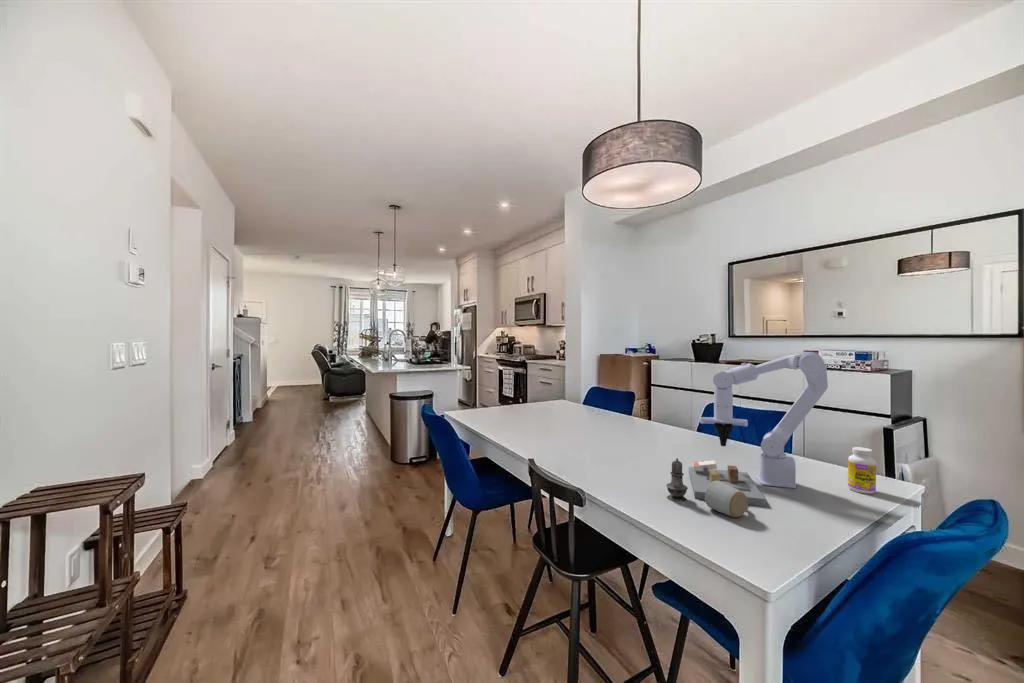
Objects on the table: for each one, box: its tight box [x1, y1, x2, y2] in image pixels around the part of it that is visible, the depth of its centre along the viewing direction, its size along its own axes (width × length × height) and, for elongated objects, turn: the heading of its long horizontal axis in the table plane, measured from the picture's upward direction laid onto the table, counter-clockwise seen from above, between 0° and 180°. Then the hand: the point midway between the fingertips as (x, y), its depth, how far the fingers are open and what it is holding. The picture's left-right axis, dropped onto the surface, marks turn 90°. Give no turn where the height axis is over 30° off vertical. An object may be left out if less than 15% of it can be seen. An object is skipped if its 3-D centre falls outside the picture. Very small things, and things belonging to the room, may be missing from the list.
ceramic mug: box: [704, 481, 750, 519], centre depth 113 cm, size 11×8×8 cm
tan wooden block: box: [710, 470, 720, 483], centre depth 126 cm, size 2×4×4 cm, turn 161°
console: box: [688, 460, 766, 507], centre depth 131 cm, size 18×24×5 cm
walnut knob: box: [727, 465, 739, 483], centre depth 131 cm, size 2×4×4 cm, turn 161°
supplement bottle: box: [847, 446, 877, 495], centre depth 128 cm, size 7×7×13 cm
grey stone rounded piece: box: [666, 457, 689, 503], centre depth 122 cm, size 6×6×12 cm
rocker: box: [692, 459, 718, 471], centre depth 140 cm, size 7×5×2 cm
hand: (723, 445), depth 144 cm, fingers closed
